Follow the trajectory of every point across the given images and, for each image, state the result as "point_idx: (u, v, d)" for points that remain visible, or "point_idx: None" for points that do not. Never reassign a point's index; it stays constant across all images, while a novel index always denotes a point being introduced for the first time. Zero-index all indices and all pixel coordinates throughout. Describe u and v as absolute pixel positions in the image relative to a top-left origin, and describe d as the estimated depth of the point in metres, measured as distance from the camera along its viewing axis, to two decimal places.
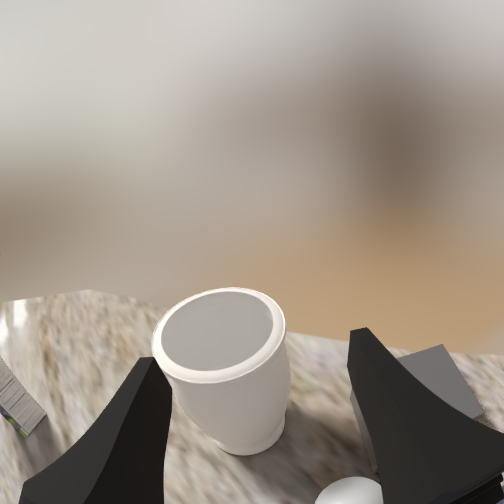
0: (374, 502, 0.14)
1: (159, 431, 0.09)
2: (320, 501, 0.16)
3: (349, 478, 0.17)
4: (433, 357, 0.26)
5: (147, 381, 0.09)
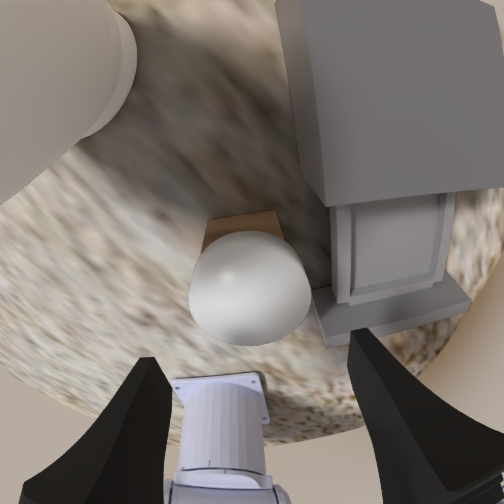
0: (288, 299, 0.14)
1: (159, 431, 0.09)
2: (198, 290, 0.13)
3: (248, 252, 0.12)
4: (474, 20, 0.07)
5: (147, 381, 0.09)
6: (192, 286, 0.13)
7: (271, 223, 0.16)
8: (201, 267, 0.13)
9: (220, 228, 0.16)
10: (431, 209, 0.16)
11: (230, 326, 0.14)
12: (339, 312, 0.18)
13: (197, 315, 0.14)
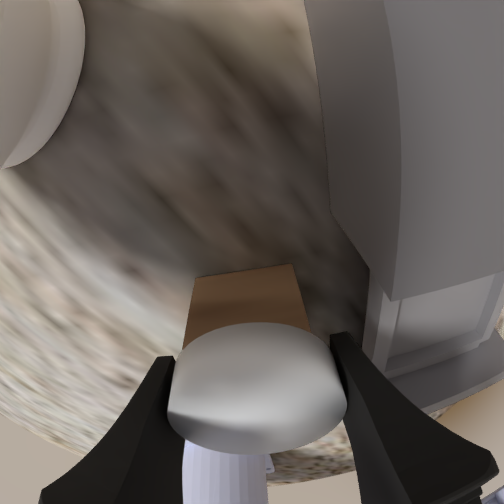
0: (313, 416, 0.08)
1: None
2: (179, 411, 0.08)
3: (256, 374, 0.07)
4: None
5: (167, 380, 0.09)
6: (170, 407, 0.08)
7: (288, 292, 0.11)
8: (181, 386, 0.07)
9: (212, 297, 0.11)
10: None
11: (229, 441, 0.09)
12: None
13: (182, 431, 0.08)
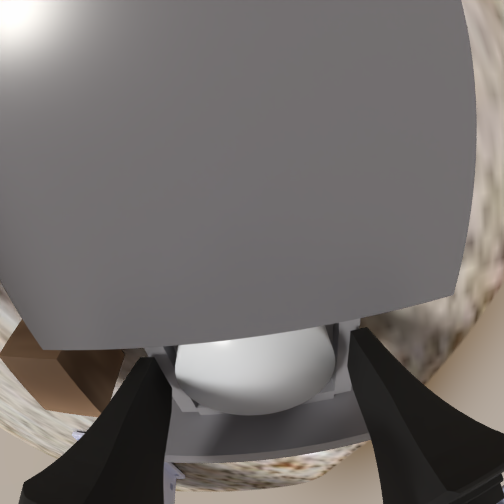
0: (305, 371, 0.10)
1: (159, 431, 0.09)
2: (186, 364, 0.09)
3: None
4: None
5: (147, 381, 0.09)
6: (179, 359, 0.09)
7: None
8: None
9: None
10: None
11: (229, 398, 0.10)
12: (184, 423, 0.12)
13: (187, 388, 0.10)
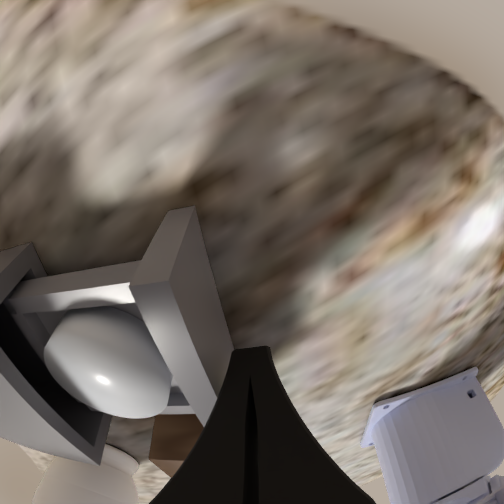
0: (92, 357, 0.09)
1: (258, 427, 0.09)
2: (94, 405, 0.11)
3: (49, 367, 0.10)
4: None
5: (252, 373, 0.09)
6: (90, 406, 0.11)
7: None
8: None
9: None
10: None
11: (134, 403, 0.11)
12: None
13: (123, 415, 0.12)
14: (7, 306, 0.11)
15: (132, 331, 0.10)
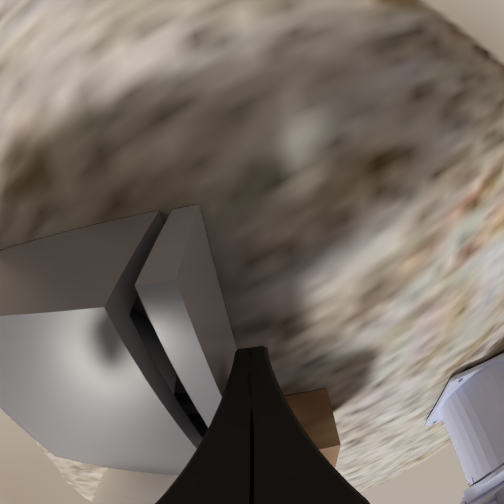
0: None
1: None
2: None
3: None
4: None
5: (256, 373, 0.09)
6: None
7: None
8: None
9: None
10: None
11: None
12: None
13: None
14: None
15: (139, 329, 0.10)
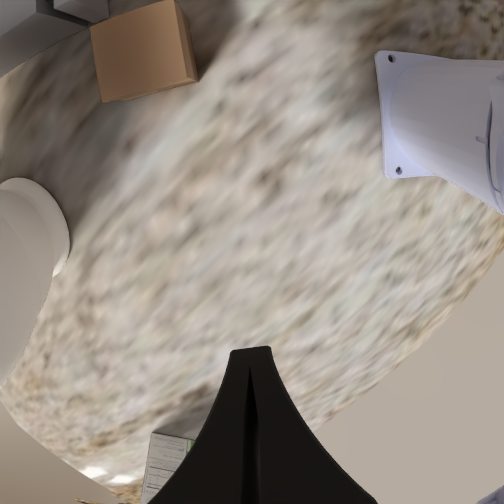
0: None
1: (257, 427, 0.09)
2: None
3: None
4: None
5: (250, 373, 0.09)
6: None
7: None
8: None
9: None
10: None
11: None
12: None
13: None
14: None
15: None
